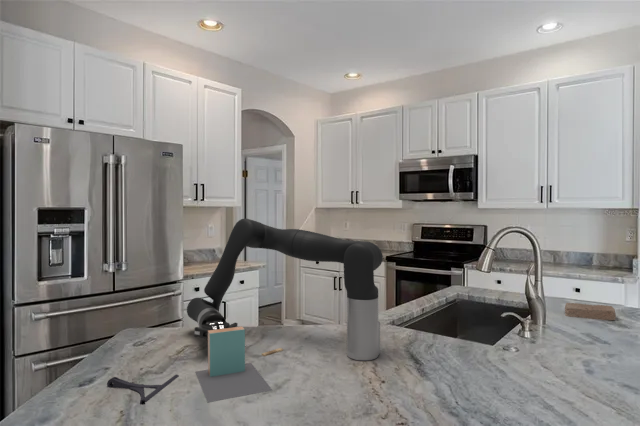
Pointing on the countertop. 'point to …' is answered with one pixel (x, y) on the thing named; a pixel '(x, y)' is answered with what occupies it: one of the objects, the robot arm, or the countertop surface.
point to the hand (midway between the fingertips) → (222, 338)
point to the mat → (232, 384)
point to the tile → (226, 351)
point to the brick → (590, 311)
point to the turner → (272, 352)
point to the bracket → (139, 387)
